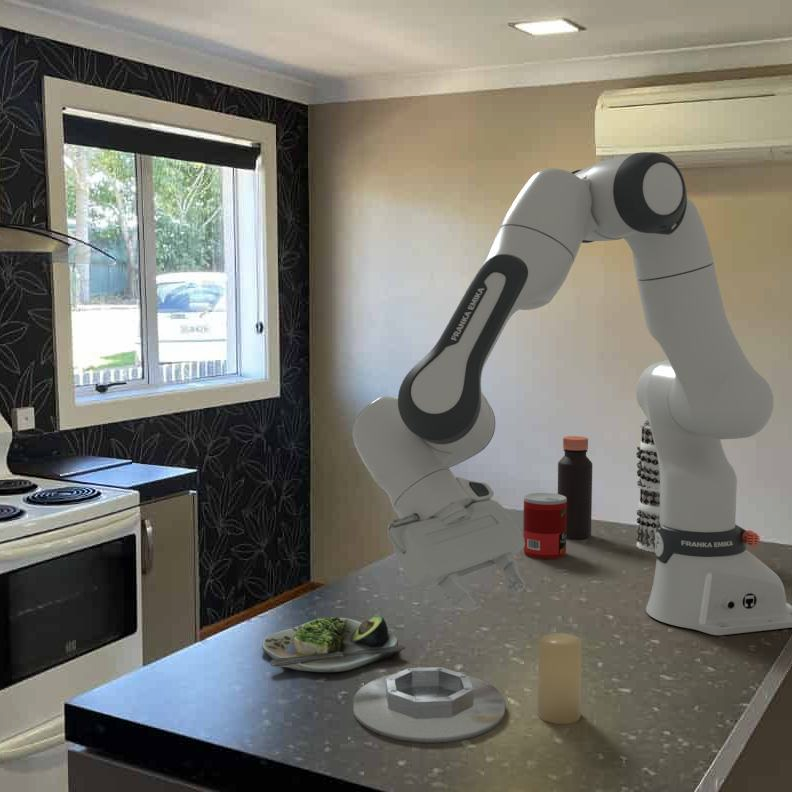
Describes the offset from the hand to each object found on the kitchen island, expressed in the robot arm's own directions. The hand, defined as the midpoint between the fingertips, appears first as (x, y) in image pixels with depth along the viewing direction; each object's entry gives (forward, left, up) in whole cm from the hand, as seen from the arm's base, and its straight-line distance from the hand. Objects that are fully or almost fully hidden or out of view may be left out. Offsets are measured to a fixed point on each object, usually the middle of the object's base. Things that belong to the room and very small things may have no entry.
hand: (497, 599), depth 119 cm
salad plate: (+20, -17, -13) cm, 29 cm away
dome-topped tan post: (-6, +6, -12) cm, 15 cm away
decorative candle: (-43, -66, -12) cm, 80 cm away
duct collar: (+9, +3, -12) cm, 15 cm away
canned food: (-20, -63, -12) cm, 67 cm away
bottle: (-29, -76, -12) cm, 82 cm away
